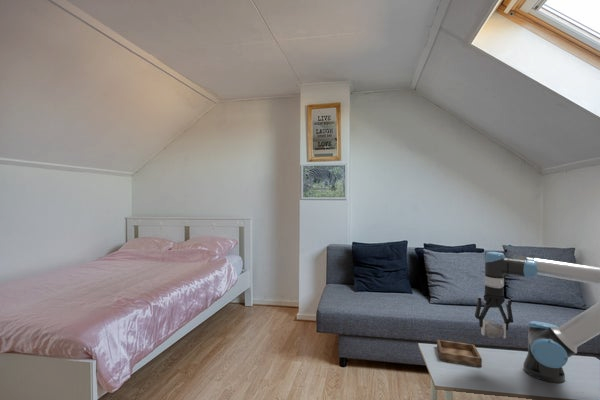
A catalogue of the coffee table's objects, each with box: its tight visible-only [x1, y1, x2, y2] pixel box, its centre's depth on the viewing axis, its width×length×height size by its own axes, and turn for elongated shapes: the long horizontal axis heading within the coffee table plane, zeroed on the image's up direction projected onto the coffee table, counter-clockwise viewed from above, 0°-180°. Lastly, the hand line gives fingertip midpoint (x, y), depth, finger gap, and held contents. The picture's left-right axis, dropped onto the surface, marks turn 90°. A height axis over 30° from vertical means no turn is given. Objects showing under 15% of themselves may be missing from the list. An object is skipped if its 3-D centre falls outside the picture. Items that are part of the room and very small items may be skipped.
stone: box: [484, 319, 504, 339], centre depth 146 cm, size 10×8×6 cm
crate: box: [436, 339, 483, 368], centre depth 161 cm, size 18×16×4 cm
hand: (493, 335), depth 145 cm, fingers closed on stone, 8 cm apart
